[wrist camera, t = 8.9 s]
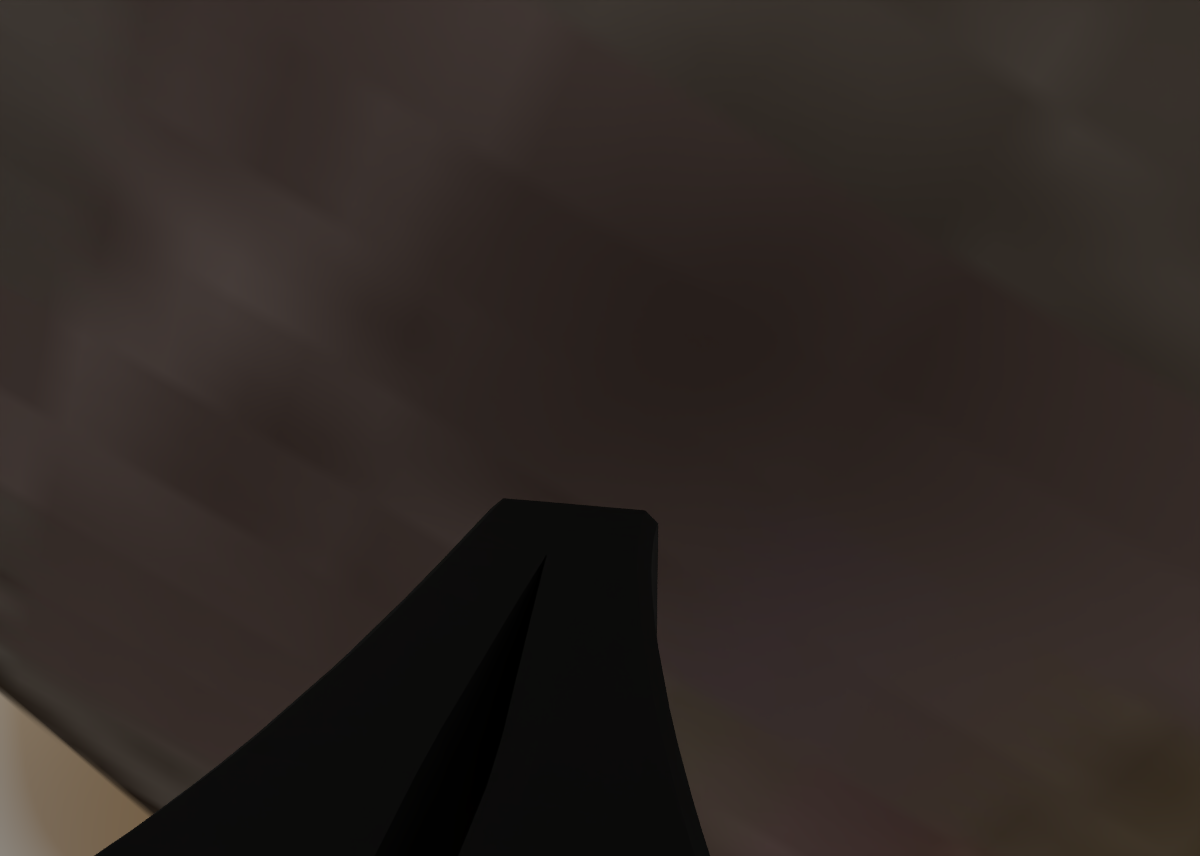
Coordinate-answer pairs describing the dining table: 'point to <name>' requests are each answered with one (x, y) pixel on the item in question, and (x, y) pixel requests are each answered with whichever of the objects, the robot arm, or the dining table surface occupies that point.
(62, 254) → the dining table surface
